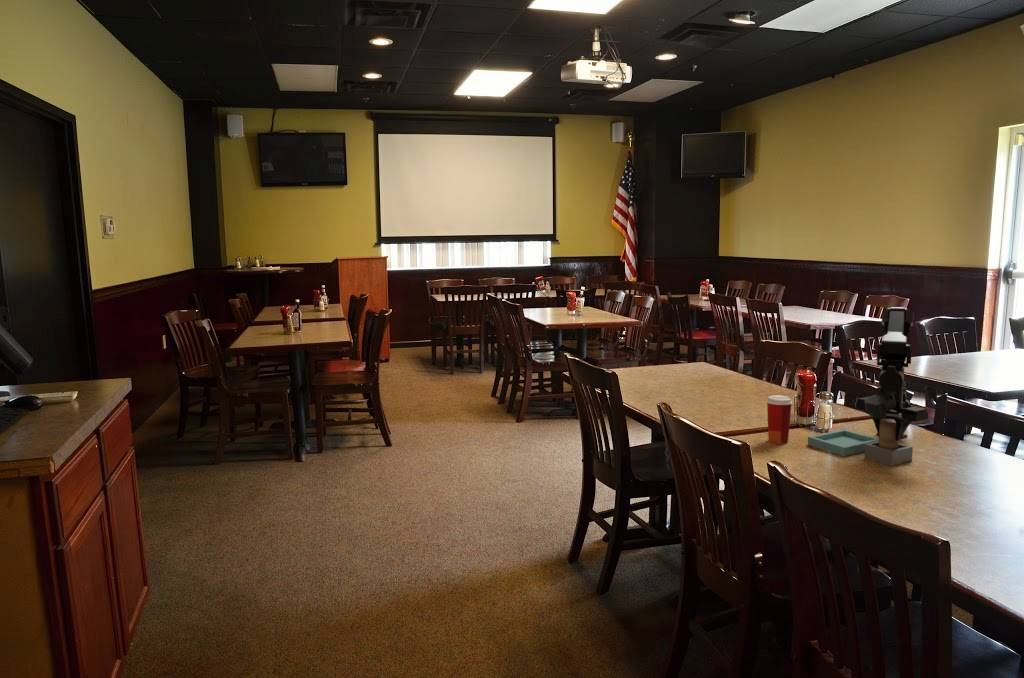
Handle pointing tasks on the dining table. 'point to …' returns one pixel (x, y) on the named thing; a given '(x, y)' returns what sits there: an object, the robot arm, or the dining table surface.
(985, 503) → the dining table surface
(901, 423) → the robot arm
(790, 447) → the dining table surface
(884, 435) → the pepper mill
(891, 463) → the holder
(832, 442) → the tray
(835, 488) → the dining table surface
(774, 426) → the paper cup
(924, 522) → the dining table surface
